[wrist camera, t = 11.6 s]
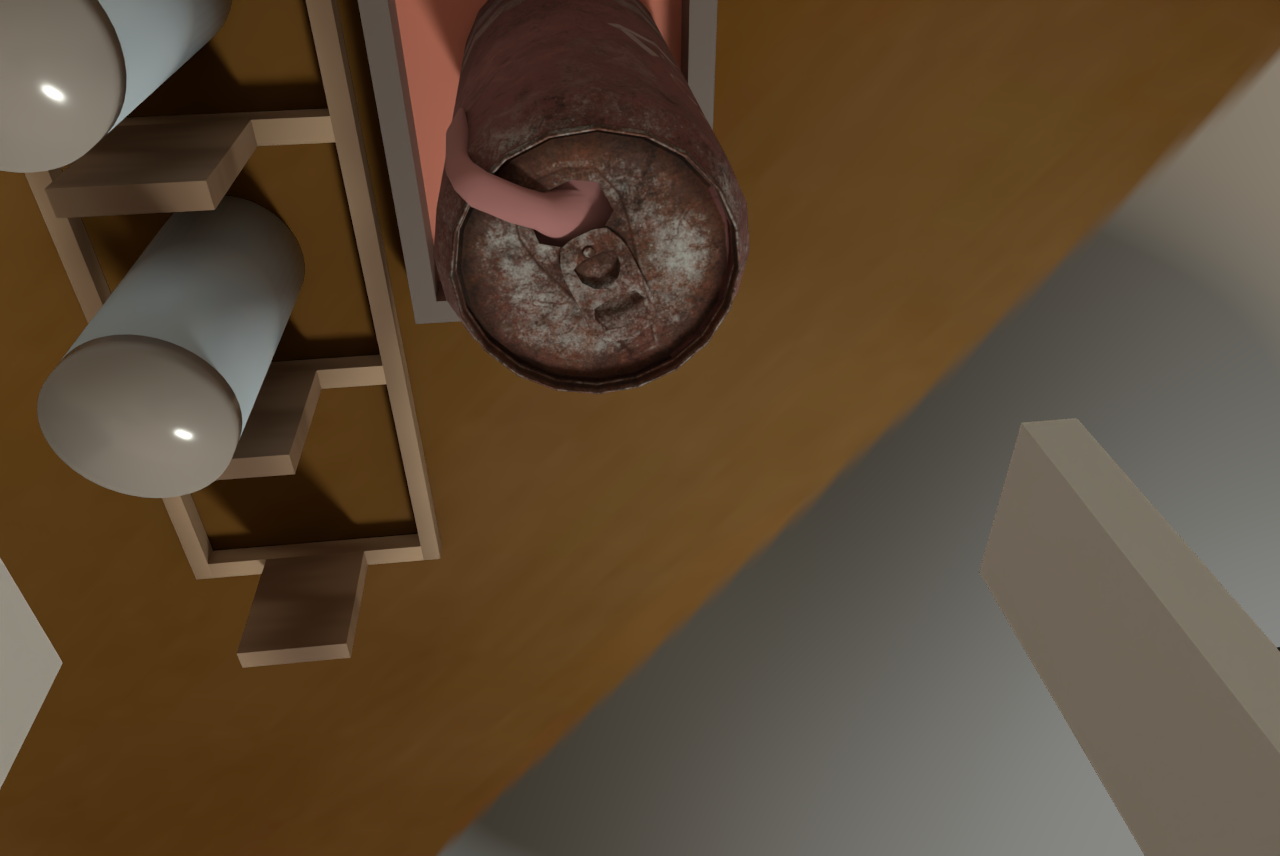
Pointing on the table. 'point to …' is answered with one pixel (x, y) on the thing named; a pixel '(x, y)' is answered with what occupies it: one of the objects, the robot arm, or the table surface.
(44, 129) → the shaker
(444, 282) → the can
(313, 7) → the caddy
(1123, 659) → the robot arm
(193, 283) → the cylinder
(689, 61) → the tray
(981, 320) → the table surface
